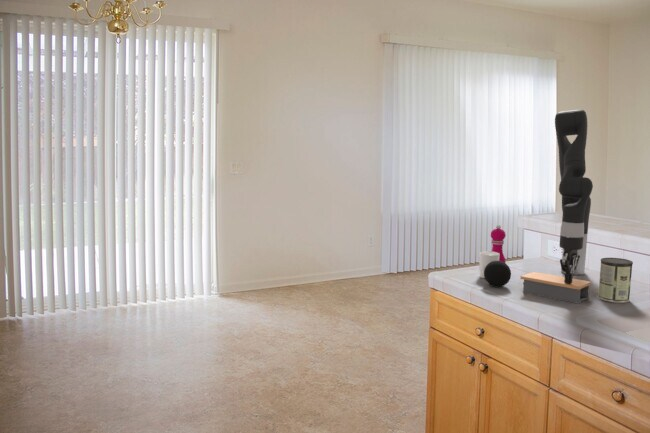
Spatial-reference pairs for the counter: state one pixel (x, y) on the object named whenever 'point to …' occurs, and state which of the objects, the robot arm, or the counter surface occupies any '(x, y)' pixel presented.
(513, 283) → the counter surface
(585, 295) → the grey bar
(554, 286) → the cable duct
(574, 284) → the brown flat rectangular panel
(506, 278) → the speaker
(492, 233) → the pepper mill
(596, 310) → the counter surface
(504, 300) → the counter surface
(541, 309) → the counter surface
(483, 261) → the white cup
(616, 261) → the coffee can
